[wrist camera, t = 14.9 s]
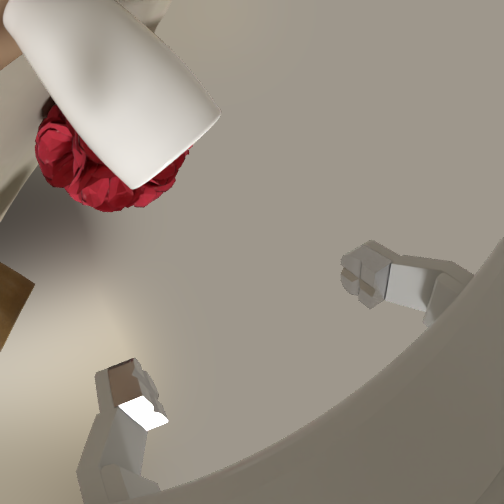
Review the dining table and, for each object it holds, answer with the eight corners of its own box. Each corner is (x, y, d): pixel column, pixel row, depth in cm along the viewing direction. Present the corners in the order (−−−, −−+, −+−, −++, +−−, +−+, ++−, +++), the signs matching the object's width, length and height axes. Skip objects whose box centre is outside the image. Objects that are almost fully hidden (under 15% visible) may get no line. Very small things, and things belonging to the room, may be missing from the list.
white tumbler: (-29, 19, 4) (128, 205, 12) (76, -67, 4) (241, 106, 12) (12, 45, 9) (131, 180, 17) (87, -19, 9) (207, 114, 17)
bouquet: (111, 32, 35) (172, 38, 21) (164, 110, 56) (242, 172, 42) (24, 109, 33) (11, 186, 20) (92, 174, 54) (135, 266, 41)
